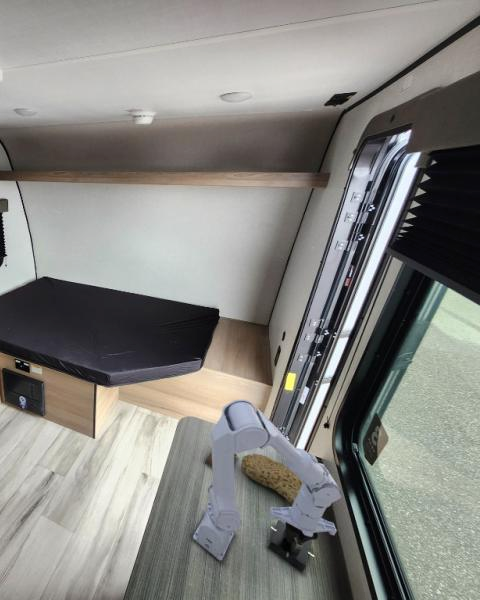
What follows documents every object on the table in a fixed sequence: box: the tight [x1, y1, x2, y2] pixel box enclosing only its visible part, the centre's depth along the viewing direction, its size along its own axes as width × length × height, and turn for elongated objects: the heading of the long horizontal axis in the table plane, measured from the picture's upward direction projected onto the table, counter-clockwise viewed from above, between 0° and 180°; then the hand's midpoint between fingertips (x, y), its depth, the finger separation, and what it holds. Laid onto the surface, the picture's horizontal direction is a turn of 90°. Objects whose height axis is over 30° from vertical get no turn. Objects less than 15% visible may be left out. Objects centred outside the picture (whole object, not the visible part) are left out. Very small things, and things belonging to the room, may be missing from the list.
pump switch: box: [205, 451, 238, 468], centre depth 109 cm, size 10×7×4 cm
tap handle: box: [285, 528, 303, 554], centre depth 83 cm, size 6×1×4 cm, turn 165°
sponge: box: [240, 453, 303, 505], centre depth 100 cm, size 13×8×20 cm
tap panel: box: [268, 519, 315, 573], centre depth 84 cm, size 10×10×3 cm
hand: (292, 540), depth 83 cm, fingers closed on tap handle
